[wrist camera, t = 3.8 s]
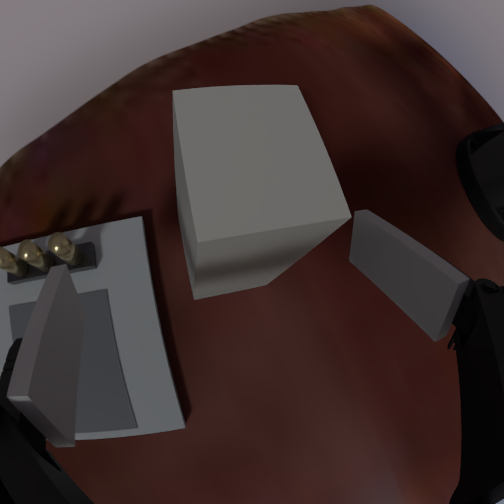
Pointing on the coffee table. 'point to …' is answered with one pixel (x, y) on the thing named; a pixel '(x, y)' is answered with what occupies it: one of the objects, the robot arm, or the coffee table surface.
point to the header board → (108, 335)
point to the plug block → (250, 184)
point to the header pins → (46, 258)
